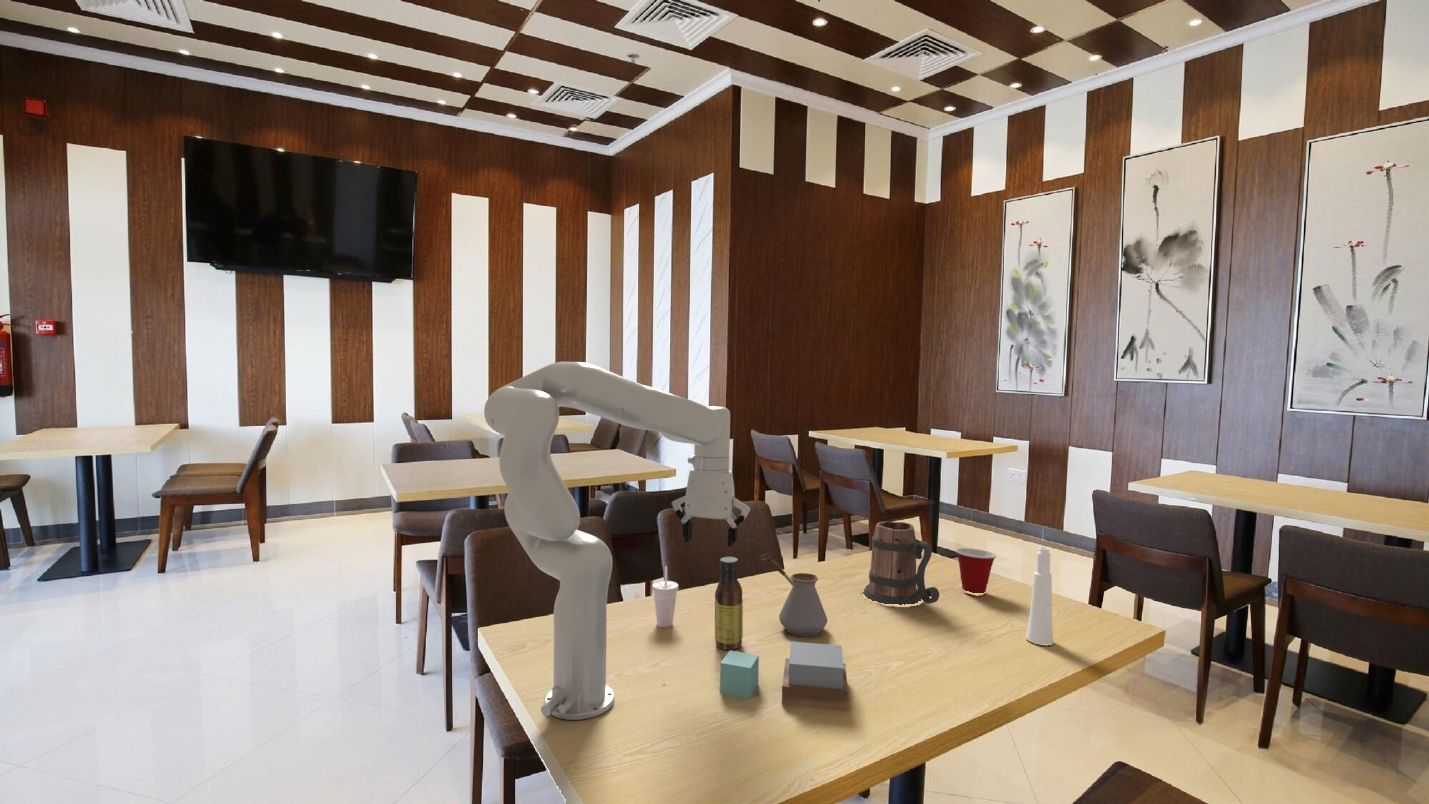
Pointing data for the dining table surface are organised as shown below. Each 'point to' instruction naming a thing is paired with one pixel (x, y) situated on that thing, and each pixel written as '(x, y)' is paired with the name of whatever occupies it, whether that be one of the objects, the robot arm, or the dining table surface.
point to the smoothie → (665, 601)
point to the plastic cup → (975, 568)
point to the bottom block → (814, 694)
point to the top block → (816, 665)
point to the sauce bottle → (728, 606)
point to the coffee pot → (801, 604)
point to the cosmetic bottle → (1041, 601)
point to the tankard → (898, 566)
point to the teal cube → (739, 674)
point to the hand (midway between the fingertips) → (709, 542)
